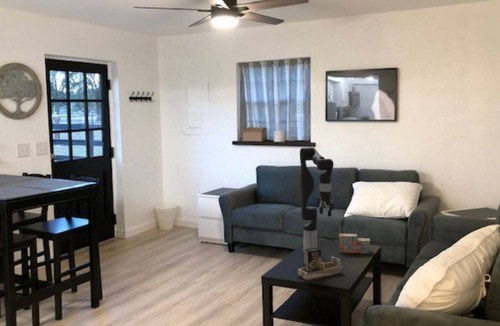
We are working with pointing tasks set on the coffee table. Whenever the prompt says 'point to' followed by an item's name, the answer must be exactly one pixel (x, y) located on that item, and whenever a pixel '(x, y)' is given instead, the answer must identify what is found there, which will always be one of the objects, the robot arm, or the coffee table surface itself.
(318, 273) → the wooden tray
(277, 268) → the coffee table surface
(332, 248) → the coffee table surface
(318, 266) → the coffee box
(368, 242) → the stack of blocks
